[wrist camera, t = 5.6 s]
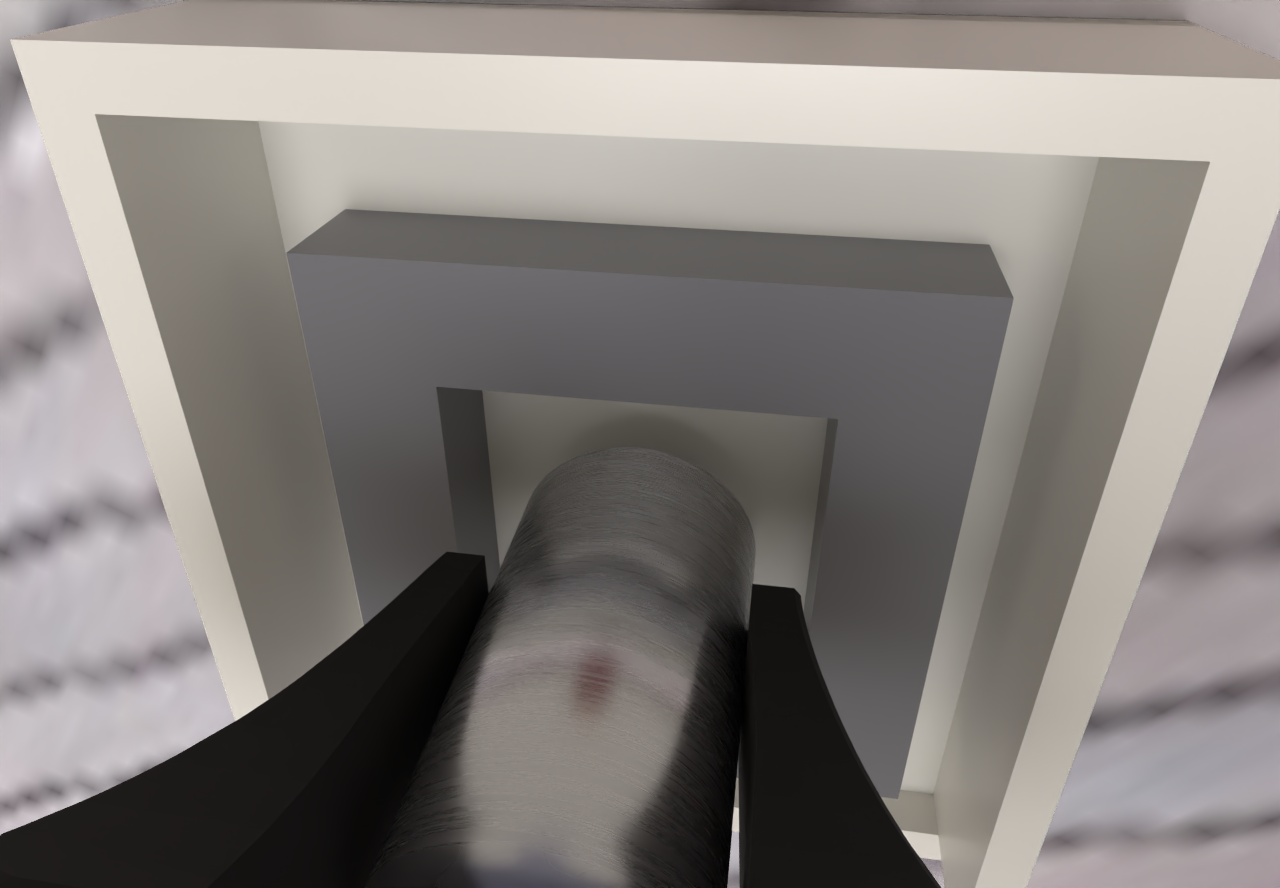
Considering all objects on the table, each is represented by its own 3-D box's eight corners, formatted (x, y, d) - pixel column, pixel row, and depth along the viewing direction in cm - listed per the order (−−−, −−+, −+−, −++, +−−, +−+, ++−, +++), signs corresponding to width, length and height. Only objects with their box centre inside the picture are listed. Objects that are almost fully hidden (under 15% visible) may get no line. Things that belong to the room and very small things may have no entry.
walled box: (1187, 20, 12) (1327, 80, 9) (961, 803, 21) (989, 985, 17) (201, -4, 14) (9, 40, 11) (364, 725, 23) (285, 875, 19)
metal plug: (761, 456, 14) (722, 874, 9) (750, 639, 17) (714, 1069, 11) (512, 439, 15) (324, 821, 9) (534, 619, 17) (392, 1017, 12)
